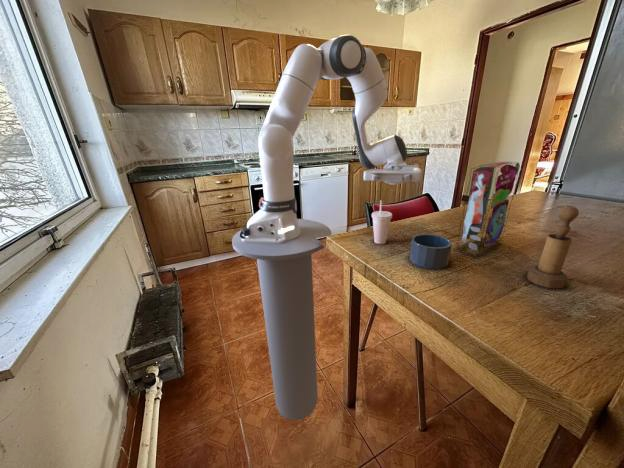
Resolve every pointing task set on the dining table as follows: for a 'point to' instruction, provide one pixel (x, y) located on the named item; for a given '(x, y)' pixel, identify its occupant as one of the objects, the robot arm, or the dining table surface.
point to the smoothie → (381, 225)
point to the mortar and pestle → (554, 253)
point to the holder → (430, 251)
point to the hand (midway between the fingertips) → (389, 179)
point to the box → (480, 199)
